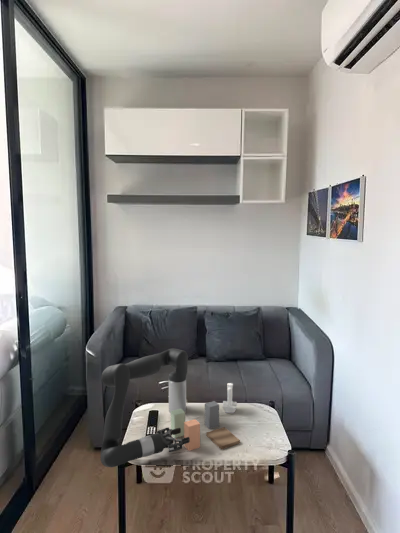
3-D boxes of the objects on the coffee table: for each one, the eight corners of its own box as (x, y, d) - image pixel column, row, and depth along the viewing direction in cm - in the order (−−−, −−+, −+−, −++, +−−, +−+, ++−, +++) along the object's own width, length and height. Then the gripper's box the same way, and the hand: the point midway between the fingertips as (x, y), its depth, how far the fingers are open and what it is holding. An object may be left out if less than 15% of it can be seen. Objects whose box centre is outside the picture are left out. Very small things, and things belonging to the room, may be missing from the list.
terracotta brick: (184, 445, 166) (184, 422, 165) (195, 442, 169) (194, 419, 168) (188, 450, 163) (188, 426, 161) (199, 447, 165) (199, 423, 164)
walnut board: (206, 435, 175) (206, 432, 174) (224, 429, 180) (224, 427, 179) (221, 449, 163) (221, 446, 163) (240, 443, 168) (240, 440, 168)
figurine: (236, 407, 203) (236, 380, 201) (236, 415, 193) (236, 387, 192) (223, 406, 204) (223, 379, 202) (222, 414, 194) (222, 387, 193)
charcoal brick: (204, 424, 184) (204, 403, 183) (214, 422, 187) (214, 400, 186) (209, 429, 180) (209, 407, 179) (219, 426, 183) (219, 404, 182)
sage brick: (170, 433, 176) (170, 411, 175) (181, 430, 179) (181, 408, 178) (174, 438, 172) (174, 415, 171) (185, 435, 175) (185, 412, 174)
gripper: (156, 445, 149) (192, 434, 157) (143, 428, 161) (177, 419, 169) (156, 463, 150) (192, 451, 158) (143, 445, 162) (177, 435, 170)
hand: (184, 434), depth 164 cm, fingers open, 8 cm apart
